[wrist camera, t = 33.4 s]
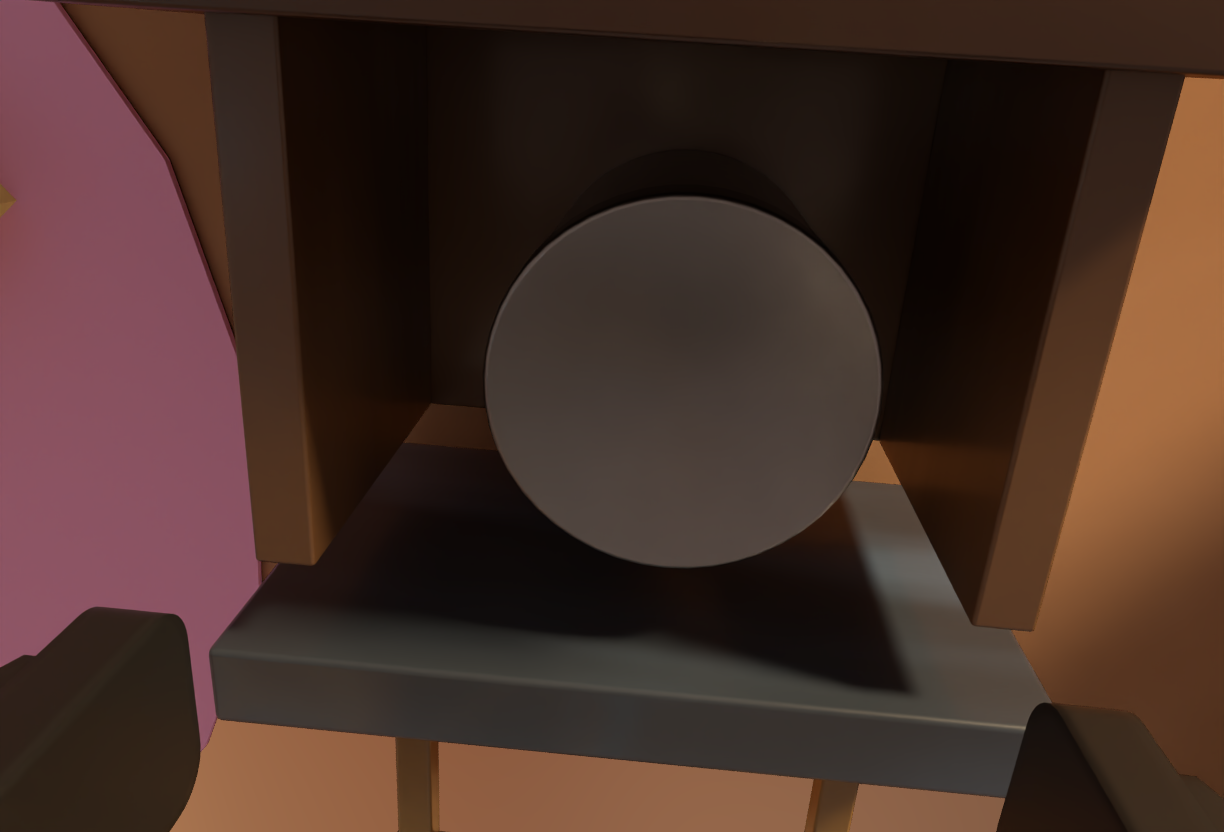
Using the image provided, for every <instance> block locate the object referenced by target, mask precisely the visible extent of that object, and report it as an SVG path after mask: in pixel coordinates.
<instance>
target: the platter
mask: <svg viewBox="0 0 1224 832" xmlns="http://www.w3.org/2000/svg"><path fill="white" fill-rule="evenodd" d="M261 584H262V574H261V561H258V560H257V559H256V553H255V543H254V532H253V522H252V511H251V501H250V490H249V479H248V469H247V458H246V448H245V437H244V427H243V416H242V406H241V395H240V384H239V374H238V363H237V353H236V342H235V338H234V336H233V333H232V330H231V327H230V325H229V322H228V319H227V316H226V314H225V311H224V308H223V305H222V303H221V300H220V297H219V294H218V292H217V289H216V286H215V283H214V281H213V278H212V275H211V272H210V270H209V267H208V264H207V261H206V259H205V256H204V253H203V250H202V248H201V245H200V242H199V239H198V237H197V234H196V231H195V228H194V226H193V223H192V220H191V217H190V215H189V212H188V209H187V206H186V204H185V201H184V198H183V195H182V193H181V190H180V187H179V184H178V182H177V179H176V176H175V173H174V171H173V168H172V165H171V162H170V160H169V158H168V157H167V155H166V154H165V152H164V151H163V149H162V148H161V147H160V145H159V144H158V142H157V141H156V139H155V138H154V137H153V135H152V134H151V132H150V131H149V129H148V128H147V127H146V125H145V124H144V122H143V121H142V119H141V118H140V117H139V115H138V114H137V112H136V111H135V109H134V108H133V107H132V105H131V104H130V102H129V101H128V100H127V98H126V97H125V95H124V94H123V92H122V91H121V90H120V88H119V87H118V85H117V84H116V82H115V81H114V80H113V78H112V77H111V75H110V74H109V72H108V71H107V70H106V68H105V67H104V65H103V64H102V62H101V61H100V60H99V58H98V57H97V55H96V54H95V52H94V51H93V50H92V48H91V47H90V45H89V44H88V42H87V41H86V40H85V38H84V37H83V35H82V34H81V32H80V31H79V30H78V28H77V27H76V25H75V24H74V23H73V21H72V20H71V18H70V17H69V15H68V14H67V13H66V11H65V10H64V8H63V7H62V5H61V4H60V3H58V2H45V1H33V0H0V667H2V666H4V665H6V664H8V663H9V662H11V661H13V660H15V659H17V658H19V657H21V656H23V655H32V656H36V655H37V654H38V653H39V652H40V651H41V650H42V649H44V648H45V647H46V646H47V645H48V644H49V643H50V642H51V641H52V640H53V639H54V638H55V637H56V636H58V635H59V634H60V633H61V632H62V631H63V630H64V629H65V628H66V627H67V626H68V625H69V624H70V623H72V622H73V621H74V620H75V619H76V618H77V617H78V616H79V615H80V614H82V613H83V612H84V611H86V610H88V609H90V608H92V607H96V606H97V607H109V608H119V609H129V610H139V611H149V612H160V613H170V614H175V615H177V616H179V617H180V618H181V619H182V621H183V622H184V624H185V627H186V630H187V635H188V642H189V650H190V658H191V667H192V675H193V683H194V692H195V700H196V708H197V716H198V725H199V733H200V744H201V751H202V750H203V749H204V748H205V747H206V745H207V744H208V742H209V740H210V737H211V734H212V731H213V729H214V726H215V723H216V720H217V716H216V711H215V702H214V694H213V686H212V678H211V670H210V661H209V651H210V648H211V647H212V645H213V644H214V643H215V642H216V640H217V639H218V638H219V637H220V635H221V634H222V633H223V632H224V630H225V629H226V628H227V627H228V625H229V624H230V623H231V622H232V620H233V619H234V618H235V617H236V615H237V614H238V613H239V611H240V610H241V609H242V608H243V606H244V605H245V604H246V603H247V601H248V600H249V599H250V598H251V596H252V595H253V594H254V593H255V591H256V590H257V589H258V588H259V586H260V585H261ZM201 751H200V752H201Z"/></svg>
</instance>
